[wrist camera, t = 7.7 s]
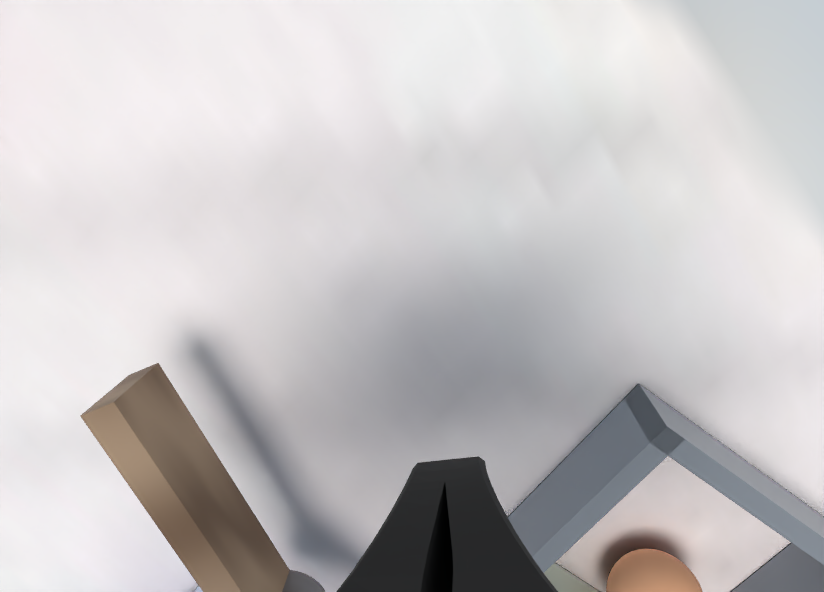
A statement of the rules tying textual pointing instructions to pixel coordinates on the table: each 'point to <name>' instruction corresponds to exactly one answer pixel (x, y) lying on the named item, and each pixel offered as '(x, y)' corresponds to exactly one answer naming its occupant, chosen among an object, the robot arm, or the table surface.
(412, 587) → the robot arm
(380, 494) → the table surface
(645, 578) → the ball
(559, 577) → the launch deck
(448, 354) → the table surface
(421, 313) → the table surface
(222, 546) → the flipper lever
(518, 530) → the tray
